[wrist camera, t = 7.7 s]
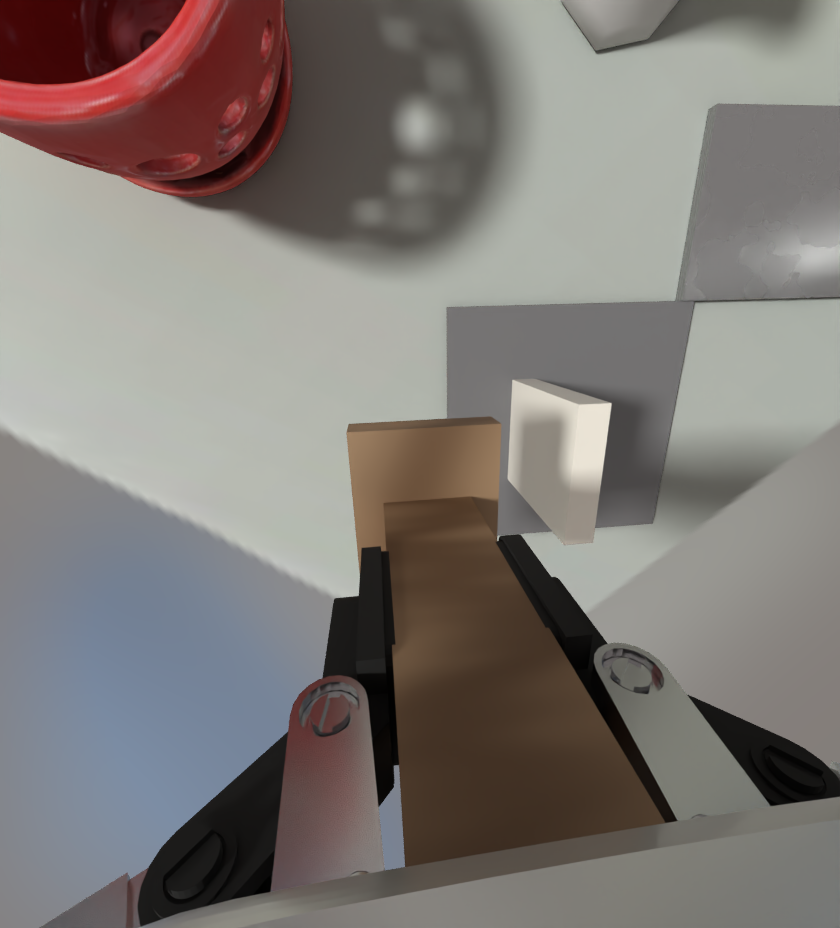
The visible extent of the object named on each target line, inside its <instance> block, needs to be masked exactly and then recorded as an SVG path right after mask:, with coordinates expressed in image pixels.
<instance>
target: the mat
mask: <svg viewBox="0 0 840 928" xmlns="http://www.w3.org/2000/svg"><path fill="white" fill-rule="evenodd" d="M693 306H694V301H662V302H625V303H587V304H550V305H513V306H476V307H447V419H451V418H470V417H488V416H491V417H493V418H494V419H495V420H497V421H498V422H500V423H501V449H500V475H499V501H498V528H497V536H498V535H511V534H524V533H536V532H549V531H552V530H551V529H550V528H549V527H548V526H547V525H546V523H545V522H544V521H543V520H542V519H541V518H540V516H539V515H538V514H537V513H536V512H535V511H534V509H533V508H532V507H531V506H530V505H529V504H528V502H527V501H526V500H525V499H524V498H523V497H522V495H521V494H520V493H519V492H518V491H517V490H516V488H515V487H514V486H513V485H512V484H511V483H510V481H509V480H508V461H509V440H510V419H511V399H512V380H515V379H537V380H541V381H544V382H547V383H550V384H553V385H556V386H559V387H563V388H566V389H569V390H572V391H575V392H578V393H582V394H585V395H588V396H591V397H594V398H597V399H600V400H604V401H607V402H610V403H612V405H611V412H610V420H609V427H608V435H607V442H606V449H605V457H604V464H603V472H602V479H601V487H600V494H599V502H598V509H597V517H596V524H595V528H601V527H614V526H627V525H640V524H653V519H654V513H655V508H656V503H657V498H658V492H659V487H660V482H661V476H662V471H663V466H664V460H665V455H666V450H667V444H668V439H669V434H670V428H671V423H672V418H673V413H674V407H675V402H676V397H677V391H678V386H679V381H680V375H681V370H682V365H683V359H684V354H685V349H686V343H687V338H688V333H689V328H690V322H691V317H692V312H693Z"/></svg>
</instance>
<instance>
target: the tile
mask: <svg viewBox="0 0 840 928" xmlns="http://www.w3.org/2000/svg"><path fill="white" fill-rule="evenodd" d="M611 405H612V403H610V402H607V401H604V400H600V399H597V398H594V397H591V396H588V395H585V394H582V393H578V392H575V391H572V390H569V389H566V388H563V387H559V386H556V385H553V384H550V383H547V382H544V381H541V380H537V379H515V380H512V399H511V419H510V440H509V461H508V480H509V481H510V483H511V484H512V485H513V486H514V487H515V488H516V490H517V491H518V492H519V493H520V494H521V495H522V497H523V498H524V499H525V500H526V501H527V502H528V504H529V505H530V506H531V507H532V508H533V509H534V511H535V512H536V513H537V514H538V515H539V516H540V518H541V519H542V520H543V521H544V522H545V523H546V525H547V526H548V527H549V528H550V529H551V530H552V532H553V533H554V534H555V535H556V536H557V537H558V539H559V540H560V541H561V542H562V543H563V544H564V545H571V544H583V543H593V539H594V532H595V524H596V517H597V509H598V502H599V494H600V487H601V479H602V472H603V464H604V457H605V449H606V442H607V435H608V427H609V420H610V412H611Z"/></svg>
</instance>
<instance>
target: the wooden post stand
mask: <svg viewBox="0 0 840 928" xmlns="http://www.w3.org/2000/svg"><path fill="white" fill-rule="evenodd" d="M347 442H348V453H349V464H350V474H351V485H352V496H353V506H354V517H355V528H356V538H357V549H358V560H359V570H360V567H361V549H362V548H366V547H377V546H381V551H389V561H390V575H391V589H392V602H393V616H394V630H395V644H396V645H392V655H393V672H394V688H395V705H396V721H397V738H398V755H399V769H400V788H401V804H402V821H403V837H404V854H405V867H409V866H415V865H420V864H426V863H432V862H438V861H443V860H449V859H455V858H461V857H466V856H472V855H478V854H484V853H490V852H495V851H501V850H507V849H513V848H519V847H525V846H531V845H537V844H543V843H549V842H555V841H561V840H567V839H573V838H579V837H585V836H591V835H597V834H603V833H609V832H615V831H621V830H627V829H633V828H639V827H645V826H651V825H657V824H664V823H665V821H664V819H663V818H662V816H661V814H660V813H659V811H658V809H657V808H656V806H655V804H654V803H653V801H652V799H651V798H650V796H649V794H648V792H647V791H646V789H645V787H644V786H643V784H642V782H641V781H640V779H639V777H638V776H637V774H636V772H635V771H634V769H633V767H632V766H631V764H630V762H629V761H628V759H627V757H626V756H625V754H624V752H623V751H622V749H621V747H620V746H619V744H618V742H617V741H616V739H615V737H614V736H613V734H612V732H611V731H610V729H609V727H608V726H607V724H606V722H605V721H604V719H603V717H602V716H601V714H600V712H599V710H598V709H597V707H596V705H595V704H594V702H593V700H592V699H591V697H590V695H589V694H588V692H587V690H586V689H585V687H584V685H583V684H582V682H581V680H580V679H579V677H578V675H577V674H576V672H575V670H574V669H573V667H572V665H571V664H570V662H569V660H568V659H567V657H566V655H565V654H564V652H563V650H562V649H561V647H560V645H559V644H558V642H557V640H556V639H555V637H554V635H553V634H552V632H551V630H550V628H545V626H544V624H543V622H542V621H541V619H540V617H539V616H538V614H537V612H536V610H535V609H534V607H533V605H532V604H531V602H530V600H529V598H528V597H527V595H526V593H525V592H524V590H523V588H522V586H521V585H520V583H519V581H518V580H517V578H516V576H515V575H514V573H513V571H512V569H511V568H510V566H509V564H508V563H507V561H506V559H505V557H504V556H503V554H502V552H501V551H500V549H499V547H498V545H497V544H496V542H497V528H498V501H499V475H500V449H501V423H500V422H498V421H497V420H495V419H494V418H493V417H491V416H488V417H470V418H451V419H433V420H415V421H396V422H378V423H359V424H349V425H348V429H347Z"/></svg>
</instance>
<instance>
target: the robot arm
mask: <svg viewBox="0 0 840 928" xmlns="http://www.w3.org/2000/svg"><path fill="white" fill-rule="evenodd" d="M496 544H497V545H498V547H499V549H500V551H501V552H502V554H503V556H504V557H505V559H506V561H507V563H508V564H509V566H510V568H511V569H512V571H513V573H514V575H515V576H516V578H517V580H518V581H519V583H520V585H521V586H522V588H523V590H524V592H525V593H526V595H527V597H528V598H529V600H530V602H531V604H532V605H533V607H534V609H535V610H536V612H537V614H538V616H539V617H540V619H541V621H542V622H543V624H544V626H545V628H550V630H551V632H552V634H553V635H554V637H555V639H556V640H557V642H558V644H559V645H560V647H561V649H562V650H563V652H564V654H565V655H566V657H567V659H568V660H569V662H570V664H571V665H572V667H573V669H574V670H575V672H576V674H577V675H578V677H579V679H580V680H581V682H582V684H583V685H584V687H585V689H586V690H587V692H588V694H589V695H590V697H591V699H592V700H593V702H594V704H595V705H596V707H597V709H598V710H599V712H600V714H601V716H602V717H603V719H604V721H605V722H606V724H607V726H608V727H609V729H610V731H611V732H612V734H613V736H614V737H615V739H616V741H617V742H618V744H619V746H620V747H621V749H622V751H623V752H624V754H625V756H626V757H627V759H628V761H629V762H630V764H631V766H632V767H633V769H634V771H635V772H636V774H637V776H638V777H639V779H640V781H641V782H642V784H643V786H644V787H645V789H646V791H647V792H648V794H649V796H650V798H651V799H652V801H653V803H654V804H655V806H656V808H657V809H658V811H659V813H660V814H661V816H662V818H663V819H664V821H665V823H664V824H657V825H651V826H645V827H639V828H633V829H627V830H621V831H615V832H609V833H603V834H597V835H591V836H585V837H579V838H573V839H567V840H561V841H555V842H549V843H543V844H537V845H531V846H525V847H519V848H513V849H507V850H501V851H495V852H490V853H484V854H478V855H472V856H466V857H461V858H455V859H449V860H443V861H438V862H432V863H426V864H420V865H415V866H409V867H403V868H398V869H392V870H386V871H385V868H384V858H383V848H382V838H381V829H380V818H379V806H380V805H381V803H382V802H383V801H384V799H385V798H386V797H387V795H388V794H389V793H390V791H391V790H392V789H393V787H394V765H399V755H398V738H397V721H396V705H395V688H394V672H393V655H392V645H396V644H395V630H394V616H393V602H392V589H391V575H390V561H389V551H381V546H377V547H366V548H362V549H361V567H360V586H359V596H355V597H344V598H335V599H334V603H333V610H332V617H331V624H330V630H329V638H328V644H327V651H326V658H325V665H324V672H323V678H322V679H319V680H317V681H316V682H314V683H312V684H311V685H309V686H308V687H307V688H306V689H305V690H303V691H302V692H301V693H300V694H299V696H298V698H297V699H296V701H295V702H294V704H293V707H292V711H291V714H290V720H289V730H288V732H287V733H286V734H285V735H284V736H283V737H282V738H280V740H278V741H277V742H276V743H275V744H274V745H273V746H271V747H270V748H269V749H268V750H267V751H266V752H265V753H264V754H263V755H261V756H260V757H259V758H258V759H257V760H256V761H255V762H254V763H252V764H251V765H250V766H249V767H248V768H247V769H246V770H245V771H244V772H243V773H241V774H240V775H239V776H238V777H237V778H236V779H235V780H234V781H232V782H231V783H230V784H229V785H228V786H227V787H226V788H225V789H224V790H222V791H221V792H220V793H219V794H218V795H217V796H216V797H215V798H213V799H212V800H211V801H210V802H209V803H208V804H207V805H206V806H204V807H203V808H202V809H201V810H200V811H199V812H198V813H197V814H195V815H194V816H193V817H192V818H191V819H190V820H189V821H188V822H187V823H185V824H184V825H183V826H182V827H181V828H180V829H179V830H178V831H176V833H175V834H174V835H173V836H172V837H171V838H170V839H169V840H168V841H167V842H166V843H165V844H164V845H163V847H162V848H161V849H160V851H159V852H158V854H157V855H156V857H155V858H154V860H153V862H152V863H151V864H150V866H149V868H147V869H146V870H144V871H142V872H141V873H139V874H138V875H136V876H135V877H133V878H131V879H130V877H129V875H128V873H126V874H124V875H123V876H121V877H119V878H118V879H116V880H115V881H113V882H111V883H110V884H109V885H107V886H105V887H103V888H102V889H100V890H99V891H97V892H95V893H94V894H92V895H91V896H89V897H87V898H86V899H84V900H83V901H81V902H79V903H78V904H76V905H75V906H73V907H71V908H70V909H68V910H67V911H65V912H63V913H62V914H60V915H59V916H57V917H56V918H54V919H52V920H51V921H49V922H48V923H46V924H44V925H43V926H41V927H40V928H840V763H836V762H832V763H831V765H830V767H828V766H826V764H824V763H823V762H822V761H821V760H820V759H819V758H817V757H816V756H814V755H813V754H812V753H810V752H808V751H807V750H806V749H804V748H803V747H800V746H799V745H797V744H795V743H793V742H791V741H790V740H788V739H785V738H783V737H781V736H779V735H776V734H774V733H772V732H770V731H768V730H765V729H763V728H761V727H758V726H756V725H754V724H752V723H750V722H747V721H745V720H743V719H741V718H739V717H736V716H734V715H732V714H730V713H727V712H725V711H723V710H721V709H718V708H716V707H714V706H712V705H710V704H707V703H705V702H703V701H700V700H698V699H696V698H694V697H691V696H689V695H687V694H686V693H685V692H684V690H683V689H682V688H681V686H680V685H679V684H678V683H677V681H676V680H675V678H674V677H673V676H672V674H671V673H670V672H669V670H668V669H667V668H666V667H665V666H664V665H663V664H662V663H661V661H660V660H659V659H657V658H656V657H654V656H653V655H652V654H650V653H649V652H646V651H645V650H643V649H641V648H638V647H636V646H632V645H628V644H624V643H610V644H607V642H606V641H605V640H604V638H603V637H602V636H601V634H600V633H599V632H598V630H597V629H596V628H595V626H594V625H593V624H592V622H591V621H590V620H589V618H588V617H587V616H586V614H585V613H584V612H583V610H582V609H581V608H580V606H579V605H578V604H577V602H576V601H575V600H574V598H573V597H572V596H571V594H570V593H569V592H568V590H567V589H566V588H565V586H564V585H563V584H562V582H561V581H560V580H559V579H558V578H556V577H551V576H550V575H549V573H548V572H547V571H546V569H545V568H544V566H543V565H542V564H541V562H540V561H539V559H538V558H537V557H536V555H535V554H534V553H533V551H532V550H531V548H530V547H529V546H528V544H527V543H526V542H525V540H524V539H523V537H522V536H521V535H519V534H517V535H505V536H500V537H499V541H497V542H496Z"/></svg>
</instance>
